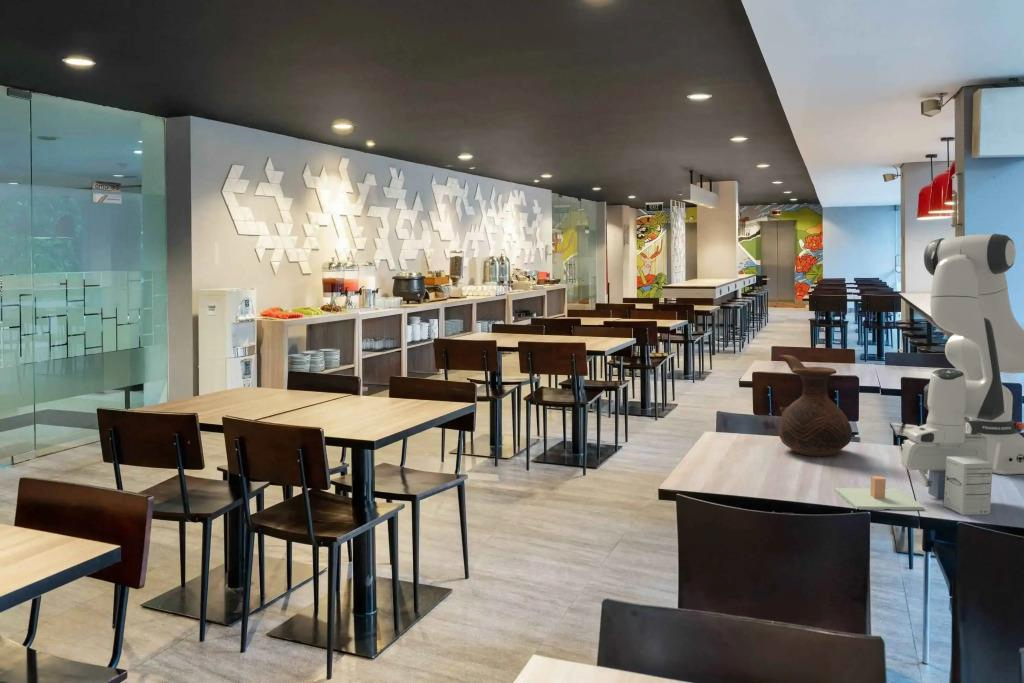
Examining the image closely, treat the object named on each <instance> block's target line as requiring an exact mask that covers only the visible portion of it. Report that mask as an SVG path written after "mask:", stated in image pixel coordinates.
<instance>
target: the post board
mask: <svg viewBox="0 0 1024 683" xmlns="http://www.w3.org/2000/svg"><path fill="white" fill-rule="evenodd" d="M835 491H836V492H837V493H836V492H835ZM834 492H835V493H836V494H838V495H839V496H840V497H841V498H842V497H843V498H844V499H843V498H842V499H843V500H845V502H847V501H848V502H849V503H850V506H852V507H853V506H854V507H855V508H856V509H855V508H854V507H853V508H854V509H855V510H857V509H859V510H865V511H870V510H871V511H872V510H873V511H878V510H879V511H885V510H884V509H891V510H890V511H925V506H924V505H922V504H920V503H919V502H918V501H917V500H915V499H913V498H912V497H911V496H909V495H907V494H906V493H904V492H903V491H902V490H900V489H899V488H895V487H893V488H891V487H888V488H886V478H885V477H883V476H880V475H877V476H874V475H873V476H870V487H834ZM848 502H847V503H848ZM849 503H848V504H849ZM859 510H858V511H859Z"/></svg>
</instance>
